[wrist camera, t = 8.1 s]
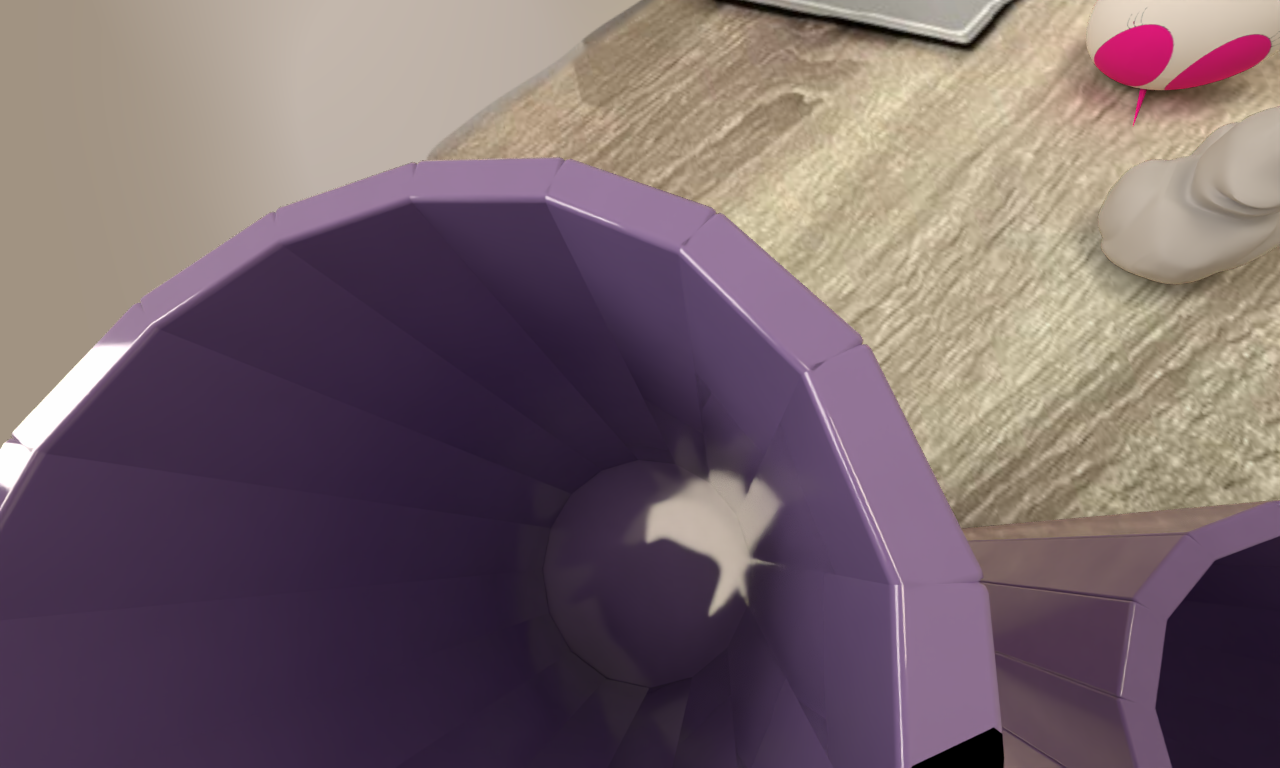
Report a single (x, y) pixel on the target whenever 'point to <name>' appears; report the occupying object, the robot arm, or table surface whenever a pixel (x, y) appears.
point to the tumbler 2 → (1137, 637)
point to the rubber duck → (1198, 206)
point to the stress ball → (1180, 40)
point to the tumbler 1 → (485, 505)
